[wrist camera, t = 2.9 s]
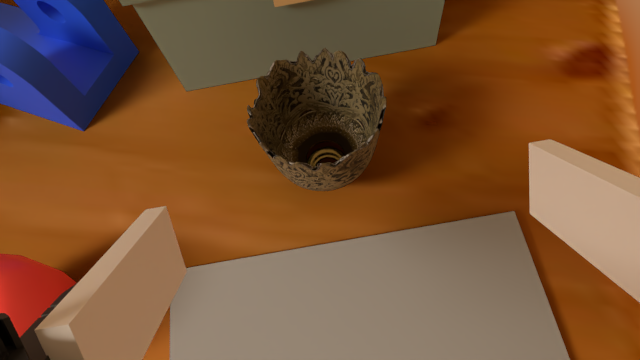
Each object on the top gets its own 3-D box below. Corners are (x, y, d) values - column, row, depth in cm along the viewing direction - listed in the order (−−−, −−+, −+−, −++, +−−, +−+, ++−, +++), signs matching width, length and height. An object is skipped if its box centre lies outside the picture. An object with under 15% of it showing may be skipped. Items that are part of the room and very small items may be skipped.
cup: (296, 113, 32) (276, 35, 25) (393, 136, 30) (401, 59, 23) (259, 201, 29) (224, 143, 22) (363, 232, 27) (362, 179, 20)
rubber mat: (172, 474, 23) (169, 476, 22) (173, 272, 28) (170, 270, 27) (584, 408, 22) (588, 409, 22) (511, 213, 27) (514, 210, 27)
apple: (136, 327, 26) (49, 307, 19) (27, 437, 24) (-115, 461, 17) (68, 246, 29) (-30, 202, 22) (-35, 339, 27) (-180, 324, 20)
